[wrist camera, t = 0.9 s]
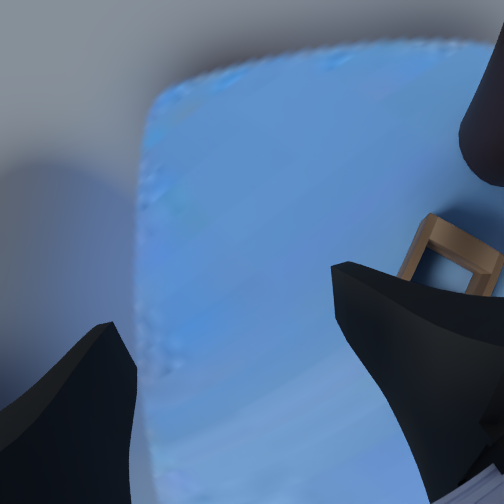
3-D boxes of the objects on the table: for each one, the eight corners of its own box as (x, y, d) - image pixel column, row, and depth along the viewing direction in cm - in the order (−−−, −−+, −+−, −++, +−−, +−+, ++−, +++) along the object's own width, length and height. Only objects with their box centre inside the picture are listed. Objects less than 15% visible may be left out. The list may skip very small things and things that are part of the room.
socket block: (486, 258, 19) (506, 256, 15) (440, 354, 20) (452, 369, 16) (420, 221, 21) (430, 212, 17) (374, 318, 22) (374, 328, 18)
